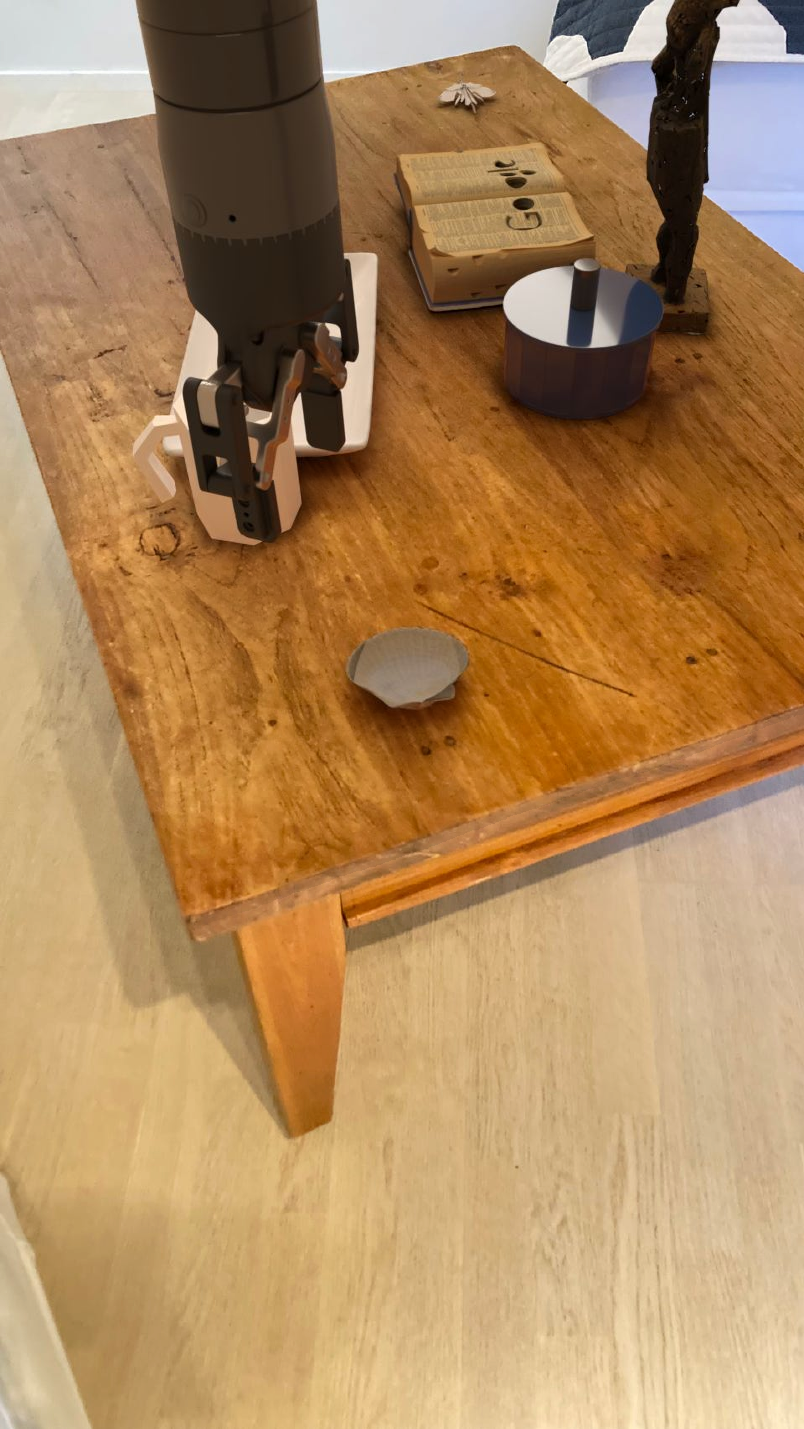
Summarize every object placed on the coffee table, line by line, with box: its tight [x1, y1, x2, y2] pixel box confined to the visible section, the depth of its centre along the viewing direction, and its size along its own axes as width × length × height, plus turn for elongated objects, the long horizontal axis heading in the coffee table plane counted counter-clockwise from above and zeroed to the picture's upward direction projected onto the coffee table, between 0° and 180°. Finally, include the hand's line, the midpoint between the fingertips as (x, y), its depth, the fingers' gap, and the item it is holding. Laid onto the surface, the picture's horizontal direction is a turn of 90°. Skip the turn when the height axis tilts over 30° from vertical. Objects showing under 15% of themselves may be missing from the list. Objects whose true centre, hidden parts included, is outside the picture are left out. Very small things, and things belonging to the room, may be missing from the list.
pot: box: [502, 321, 657, 421], centre depth 92 cm, size 13×13×6 cm
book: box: [392, 141, 597, 312], centre depth 108 cm, size 25×17×6 cm
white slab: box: [161, 252, 379, 458], centre depth 94 cm, size 17×32×4 cm, turn 0°
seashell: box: [345, 626, 470, 711], centre depth 70 cm, size 8×3×8 cm
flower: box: [436, 70, 497, 114], centre depth 134 cm, size 8×8×3 cm
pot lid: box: [502, 258, 664, 353], centre depth 88 cm, size 13×13×5 cm
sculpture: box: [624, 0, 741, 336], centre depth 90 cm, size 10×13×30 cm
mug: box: [131, 376, 302, 546], centre depth 80 cm, size 12×9×10 cm
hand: (295, 489), depth 59 cm, fingers open, 8 cm apart
